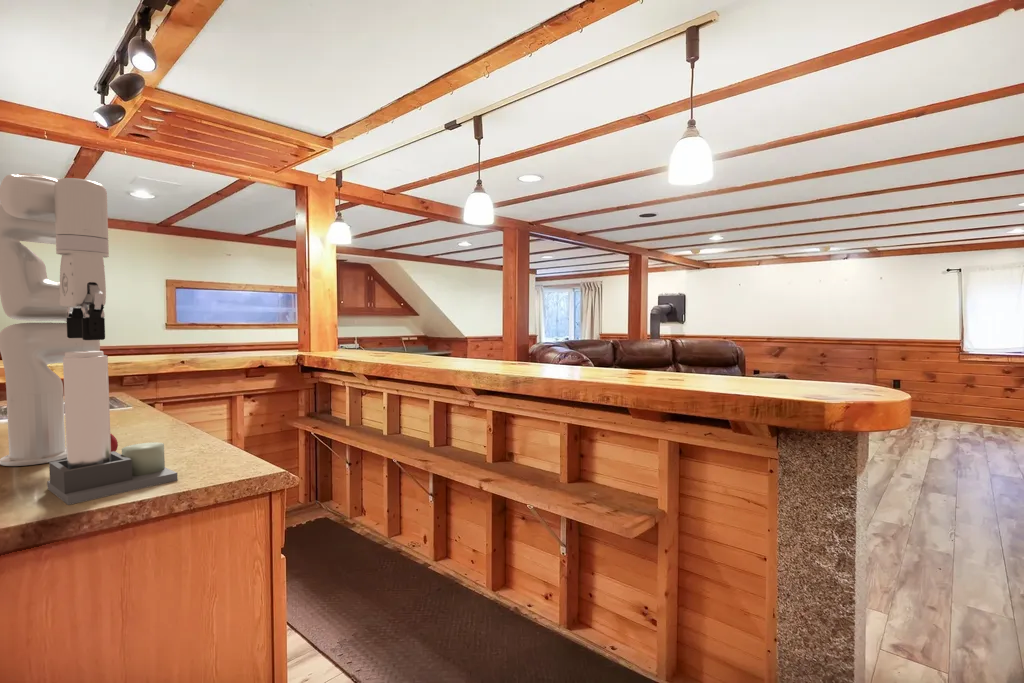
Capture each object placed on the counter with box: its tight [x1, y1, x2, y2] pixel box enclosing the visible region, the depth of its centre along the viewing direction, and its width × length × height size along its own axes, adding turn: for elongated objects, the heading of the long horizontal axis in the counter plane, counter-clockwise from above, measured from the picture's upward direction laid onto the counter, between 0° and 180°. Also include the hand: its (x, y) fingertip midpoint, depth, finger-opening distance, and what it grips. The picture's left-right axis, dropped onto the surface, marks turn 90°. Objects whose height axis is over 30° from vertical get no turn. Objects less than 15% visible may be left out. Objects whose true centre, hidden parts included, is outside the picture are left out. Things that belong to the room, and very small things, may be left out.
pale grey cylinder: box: [62, 350, 111, 470], centre depth 96 cm, size 6×6×25 cm
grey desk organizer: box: [46, 441, 178, 506], centre depth 99 cm, size 14×17×6 cm
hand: (85, 338), depth 95 cm, fingers open, 9 cm apart
